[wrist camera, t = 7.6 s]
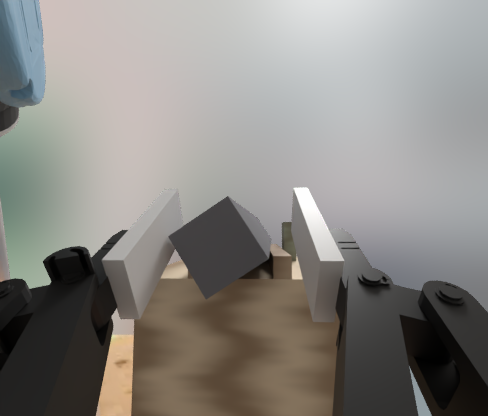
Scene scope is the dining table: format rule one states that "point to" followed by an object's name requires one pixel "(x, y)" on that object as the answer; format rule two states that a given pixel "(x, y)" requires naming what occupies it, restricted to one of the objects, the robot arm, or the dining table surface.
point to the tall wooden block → (234, 345)
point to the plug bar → (221, 245)
